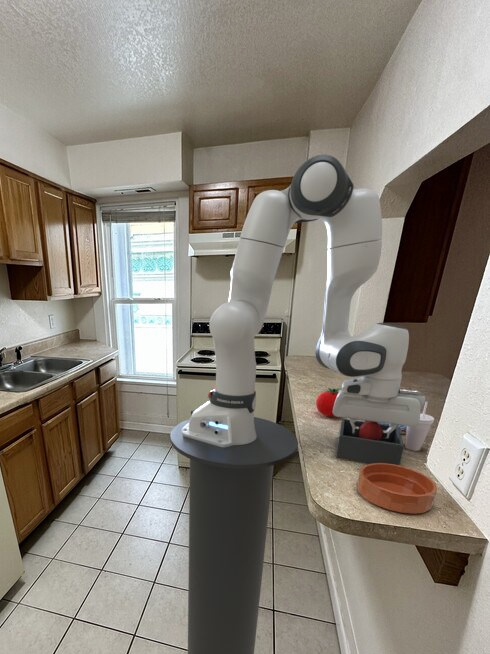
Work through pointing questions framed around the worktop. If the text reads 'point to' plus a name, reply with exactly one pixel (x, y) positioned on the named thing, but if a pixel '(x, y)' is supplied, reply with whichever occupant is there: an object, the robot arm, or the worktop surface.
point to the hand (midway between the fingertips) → (369, 435)
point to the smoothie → (418, 431)
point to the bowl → (396, 488)
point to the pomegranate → (370, 431)
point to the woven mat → (401, 427)
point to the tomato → (327, 402)
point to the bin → (369, 445)
